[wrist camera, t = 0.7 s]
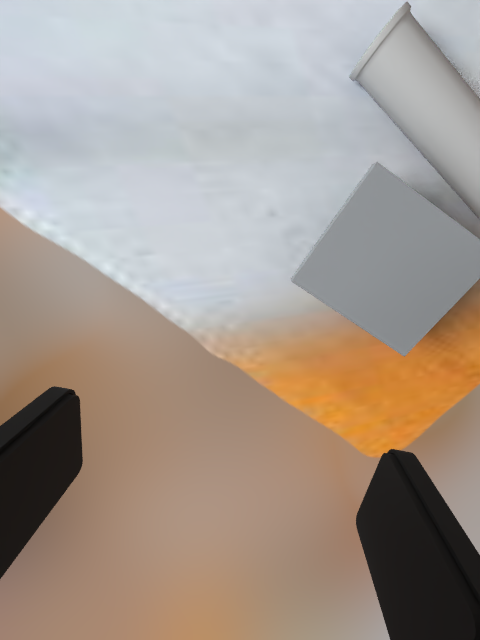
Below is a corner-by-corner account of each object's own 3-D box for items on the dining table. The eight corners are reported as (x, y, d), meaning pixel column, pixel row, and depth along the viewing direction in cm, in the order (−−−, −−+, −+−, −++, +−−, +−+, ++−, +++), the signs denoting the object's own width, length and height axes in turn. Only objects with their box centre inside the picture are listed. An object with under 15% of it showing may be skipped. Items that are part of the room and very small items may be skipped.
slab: (372, 164, 24) (377, 161, 23) (491, 254, 26) (501, 255, 25) (290, 279, 28) (291, 281, 27) (398, 351, 30) (404, 356, 29)
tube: (595, 211, 26) (418, -15, 22) (559, 255, 26) (375, 36, 22) (528, 225, 31) (375, 46, 27) (498, 262, 31) (340, 87, 27)
